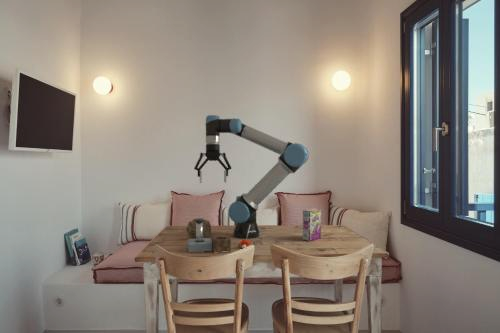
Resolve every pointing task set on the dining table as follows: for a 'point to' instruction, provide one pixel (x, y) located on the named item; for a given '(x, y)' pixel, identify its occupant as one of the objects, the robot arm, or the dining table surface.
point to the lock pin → (199, 230)
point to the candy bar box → (311, 224)
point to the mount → (221, 243)
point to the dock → (199, 245)
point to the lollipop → (245, 241)
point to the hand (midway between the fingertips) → (213, 182)
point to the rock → (192, 228)
